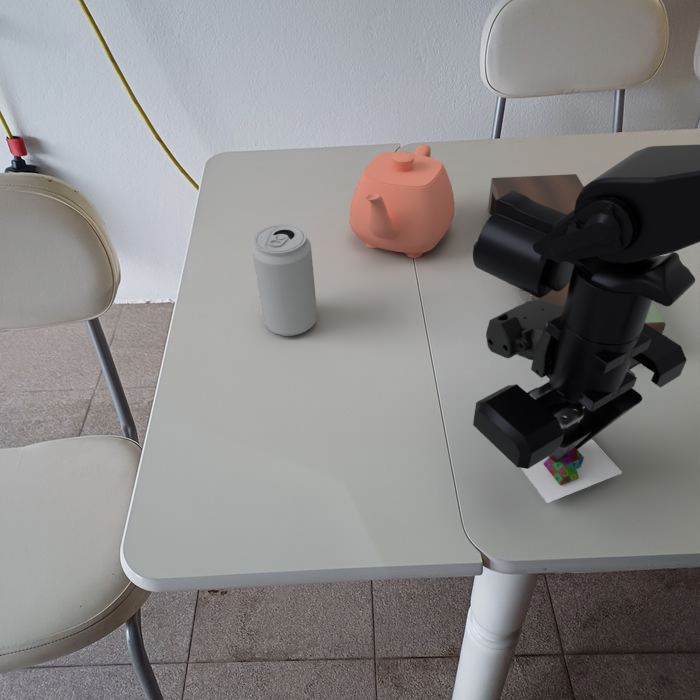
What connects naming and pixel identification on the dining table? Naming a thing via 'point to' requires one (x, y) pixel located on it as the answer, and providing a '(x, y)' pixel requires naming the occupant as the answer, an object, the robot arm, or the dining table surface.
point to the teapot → (403, 202)
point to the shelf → (560, 197)
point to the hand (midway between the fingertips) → (563, 451)
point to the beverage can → (285, 279)
